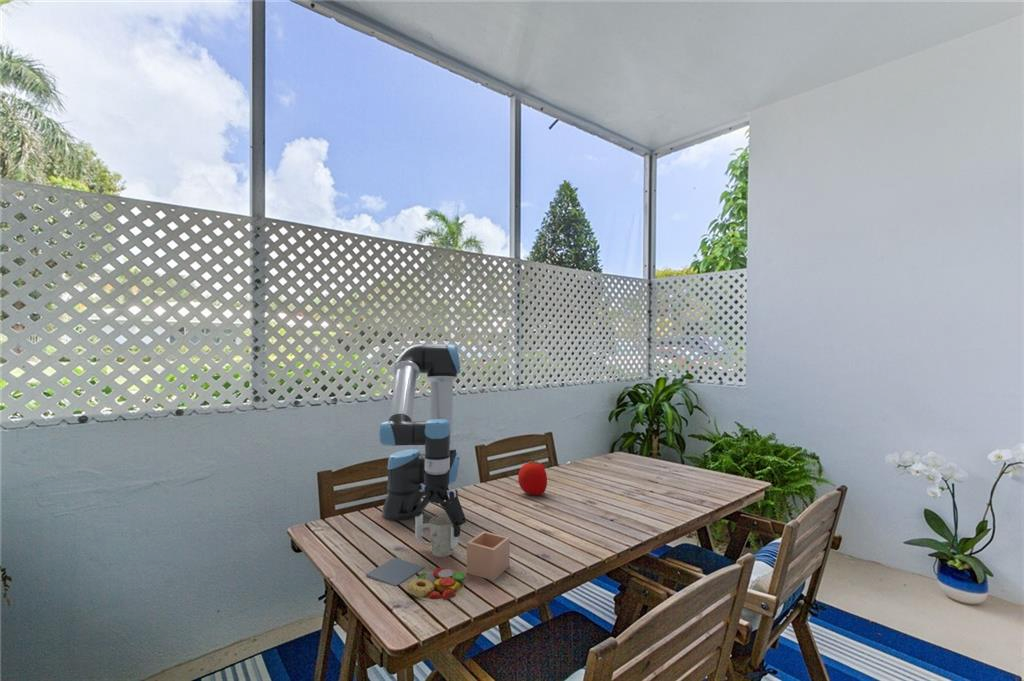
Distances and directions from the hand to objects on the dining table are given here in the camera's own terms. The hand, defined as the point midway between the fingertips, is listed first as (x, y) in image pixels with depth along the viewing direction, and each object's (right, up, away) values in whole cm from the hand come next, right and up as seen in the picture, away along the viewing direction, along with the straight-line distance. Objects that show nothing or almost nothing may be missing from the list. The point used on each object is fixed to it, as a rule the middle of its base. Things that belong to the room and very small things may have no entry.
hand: (436, 541), depth 134 cm
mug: (0, -4, 0) cm, 4 cm away
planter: (+16, -3, -11) cm, 20 cm away
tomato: (+32, -4, +53) cm, 62 cm away
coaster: (-9, -3, -12) cm, 15 cm away
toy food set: (+4, -4, -20) cm, 21 cm away
